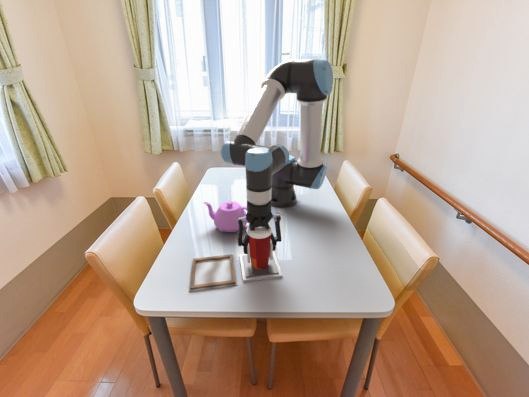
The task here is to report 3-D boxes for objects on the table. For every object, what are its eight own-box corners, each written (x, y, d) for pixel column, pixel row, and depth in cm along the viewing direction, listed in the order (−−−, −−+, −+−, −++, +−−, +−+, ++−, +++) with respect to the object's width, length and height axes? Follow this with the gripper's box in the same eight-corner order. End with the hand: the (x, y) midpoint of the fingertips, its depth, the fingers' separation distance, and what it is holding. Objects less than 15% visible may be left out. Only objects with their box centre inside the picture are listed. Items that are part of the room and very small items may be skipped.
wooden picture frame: (233, 255, 98) (233, 253, 97) (237, 285, 84) (237, 282, 84) (192, 260, 95) (191, 257, 95) (189, 291, 82) (188, 289, 82)
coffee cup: (274, 258, 94) (275, 223, 87) (267, 274, 87) (267, 237, 80) (252, 253, 96) (251, 218, 90) (243, 268, 90) (242, 231, 83)
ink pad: (274, 252, 99) (274, 249, 99) (282, 277, 88) (282, 274, 87) (239, 256, 97) (239, 253, 96) (243, 282, 86) (243, 279, 85)
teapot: (202, 235, 109) (198, 209, 103) (210, 217, 122) (208, 193, 116) (250, 237, 108) (249, 211, 102) (254, 219, 120) (253, 195, 115)
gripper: (287, 191, 85) (285, 249, 96) (225, 196, 82) (230, 255, 93) (294, 202, 79) (290, 262, 89) (226, 208, 76) (231, 270, 86)
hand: (259, 258), depth 91 cm, fingers closed on coffee cup, 7 cm apart
